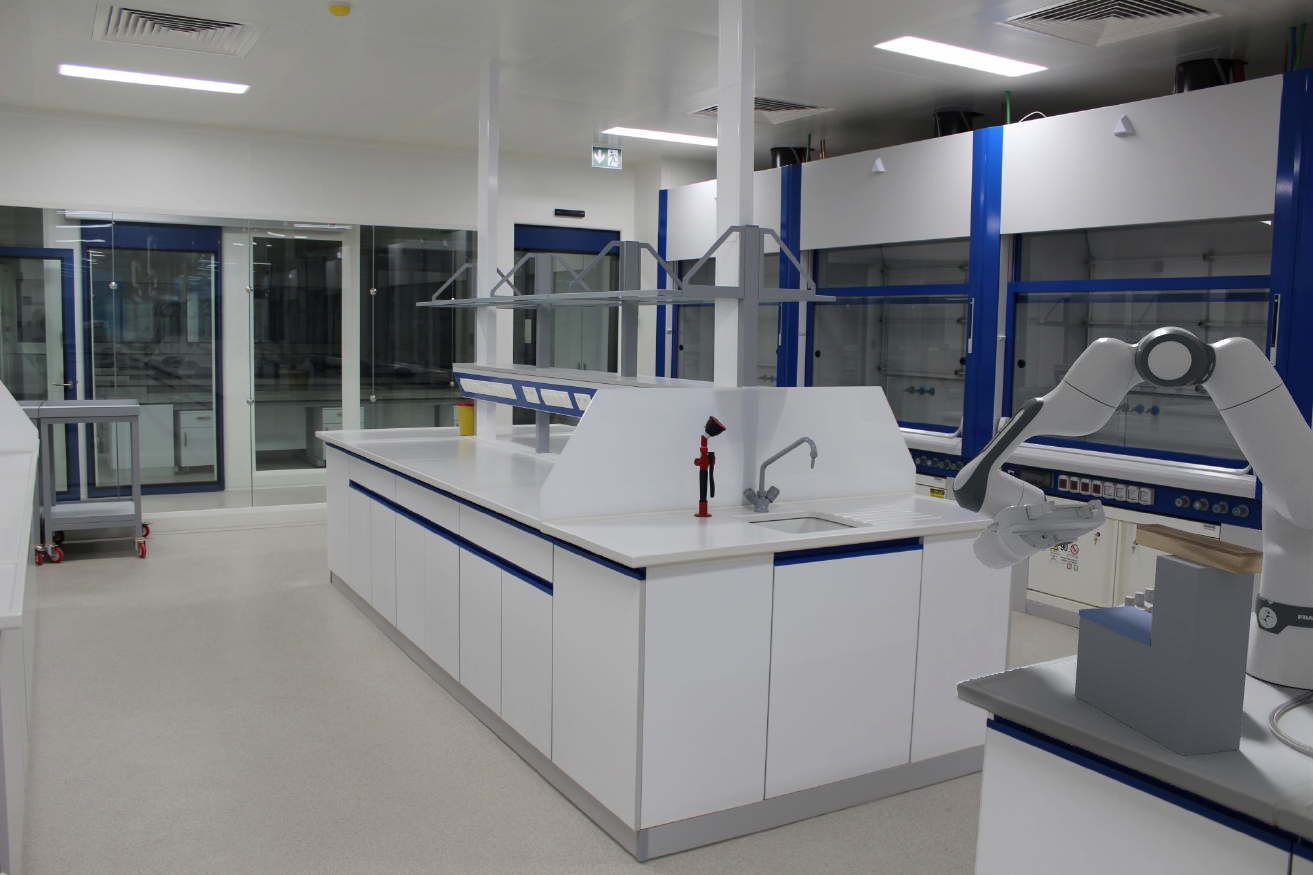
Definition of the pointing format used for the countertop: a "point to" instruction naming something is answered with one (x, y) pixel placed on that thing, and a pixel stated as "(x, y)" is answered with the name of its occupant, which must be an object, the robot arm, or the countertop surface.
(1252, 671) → the robot arm
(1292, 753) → the countertop surface
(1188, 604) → the l-shaped step block
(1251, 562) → the slide box
